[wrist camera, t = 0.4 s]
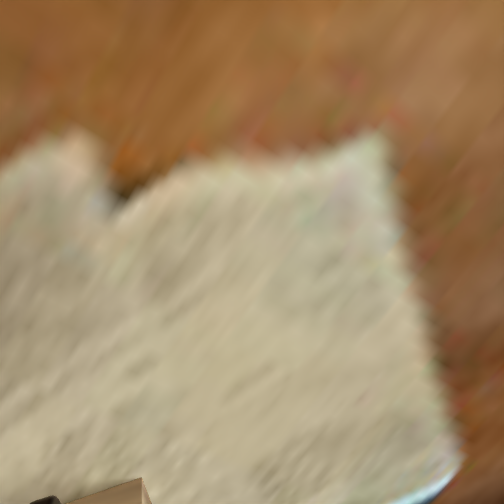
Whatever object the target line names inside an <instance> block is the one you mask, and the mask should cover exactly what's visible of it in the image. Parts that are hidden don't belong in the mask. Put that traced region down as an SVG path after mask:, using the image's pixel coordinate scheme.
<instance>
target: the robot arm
mask: <svg viewBox="0 0 504 504" xmlns="http://www.w3.org/2000/svg"><path fill="white" fill-rule="evenodd" d="M30 504H61V503H60V501H59V499H58V498H57V497H56V496H49V497H46V498H42V499H39V500H36V501H34V502H31V503H30Z"/></svg>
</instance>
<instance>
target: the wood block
mask: <svg viewBox="0 0 504 504" xmlns="http://www.w3.org/2000/svg"><path fill="white" fill-rule="evenodd" d="M66 504H152V503H151V501H150V498H149V495H148V493H147V490H146V487H145V485H144V482H143V479H142V478H139V479H136V480H133V481H130V482H127V483H124V484H121V485H118V486H115V487H113V488H110V489H107V490H104V491H101V492H98V493H95V494H92V495H89V496H86V497H83V498H80V499H77V500H74V501H72V502H69V503H66Z"/></svg>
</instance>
